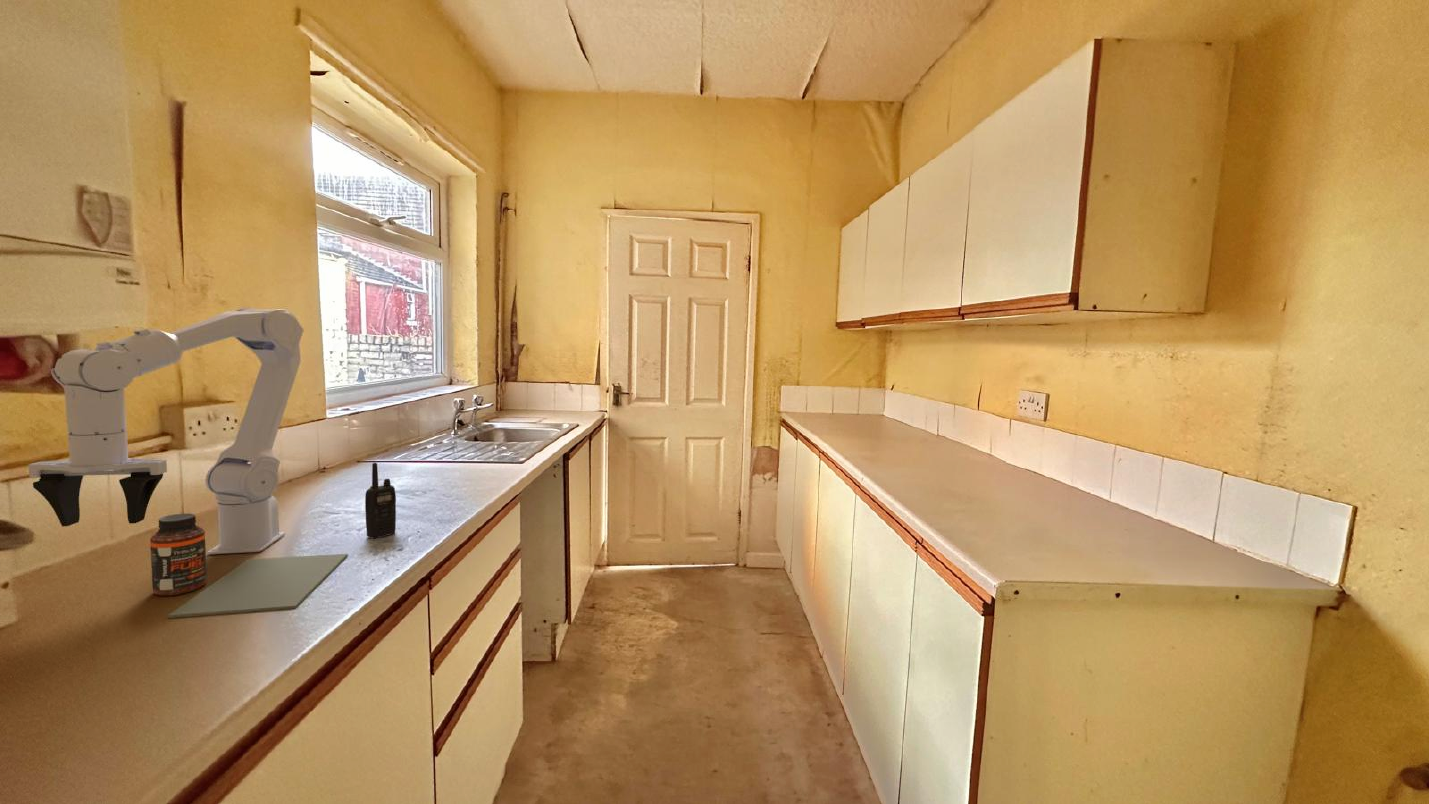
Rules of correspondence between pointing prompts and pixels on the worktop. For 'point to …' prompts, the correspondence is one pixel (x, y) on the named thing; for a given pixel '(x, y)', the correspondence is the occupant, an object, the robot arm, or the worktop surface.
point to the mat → (262, 586)
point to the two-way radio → (380, 507)
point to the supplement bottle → (178, 555)
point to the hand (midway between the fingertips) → (104, 522)
